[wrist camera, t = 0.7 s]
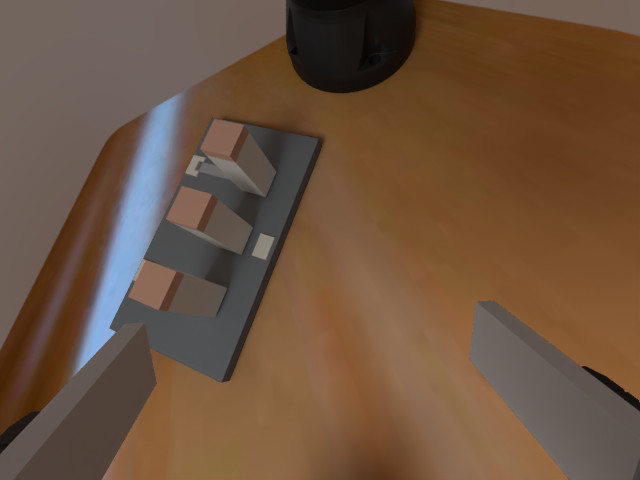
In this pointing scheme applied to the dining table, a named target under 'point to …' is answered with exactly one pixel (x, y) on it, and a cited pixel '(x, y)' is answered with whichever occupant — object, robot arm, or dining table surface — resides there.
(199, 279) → the white brown-topped block
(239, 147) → the switch
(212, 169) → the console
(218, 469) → the dining table surface
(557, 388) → the robot arm
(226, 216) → the switch
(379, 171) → the dining table surface
